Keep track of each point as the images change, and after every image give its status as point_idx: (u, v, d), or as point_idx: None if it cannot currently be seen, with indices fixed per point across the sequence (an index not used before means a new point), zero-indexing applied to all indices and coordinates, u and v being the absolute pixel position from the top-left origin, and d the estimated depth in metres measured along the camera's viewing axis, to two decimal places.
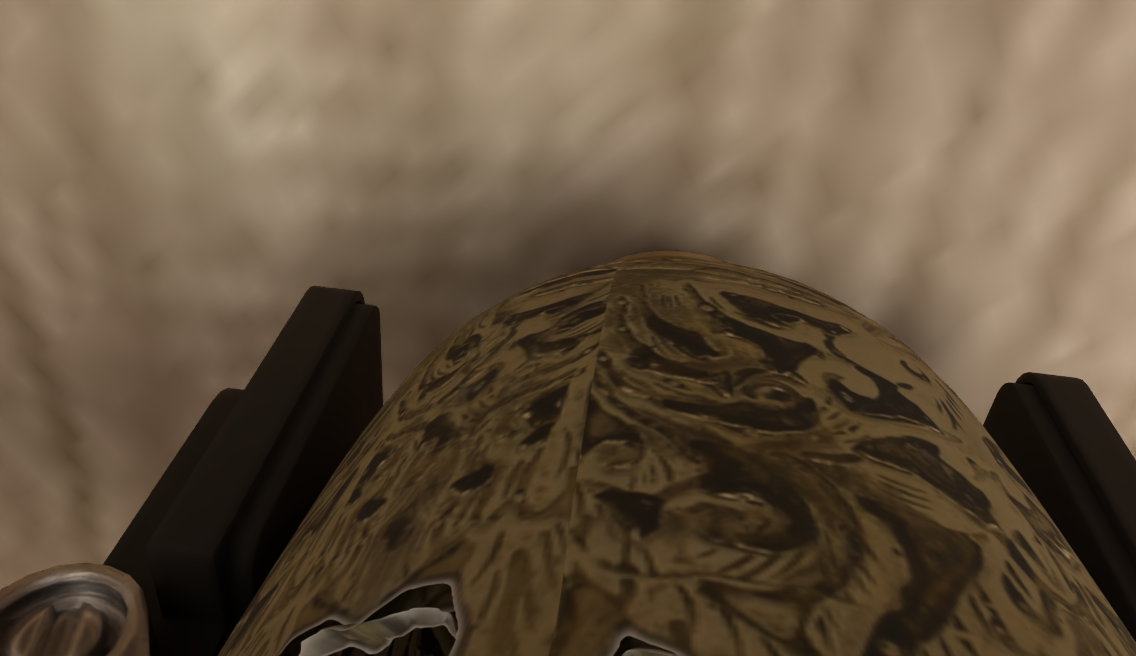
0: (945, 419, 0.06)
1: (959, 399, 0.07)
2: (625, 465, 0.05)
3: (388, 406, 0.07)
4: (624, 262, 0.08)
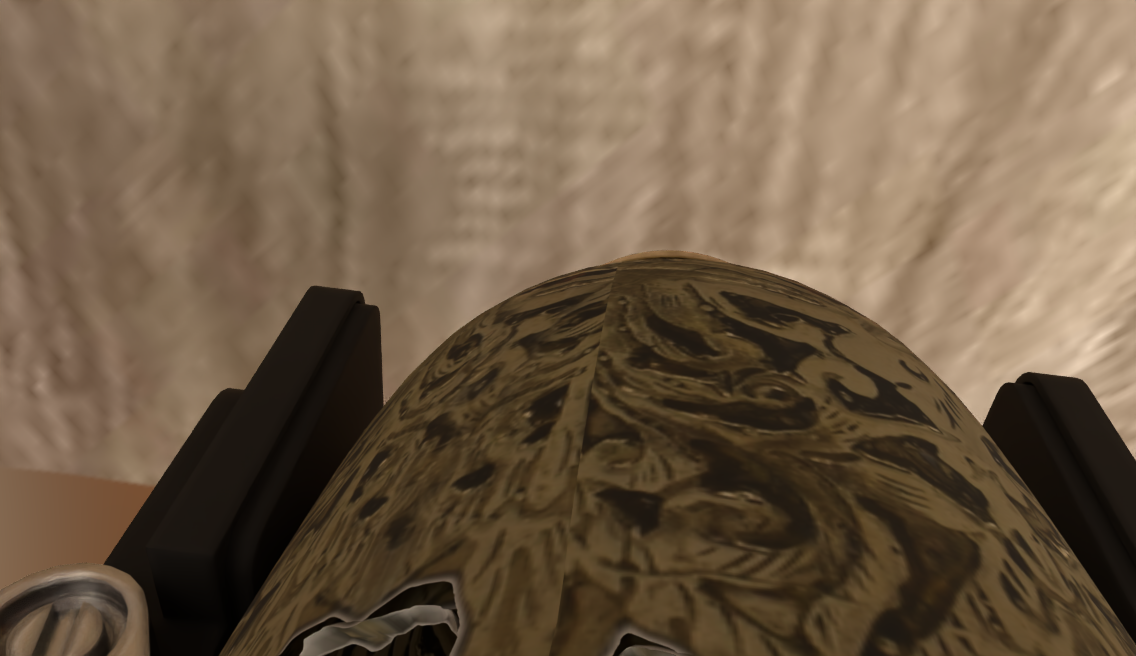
0: (943, 418, 0.06)
1: (958, 399, 0.07)
2: (625, 464, 0.05)
3: (389, 405, 0.07)
4: (624, 262, 0.08)
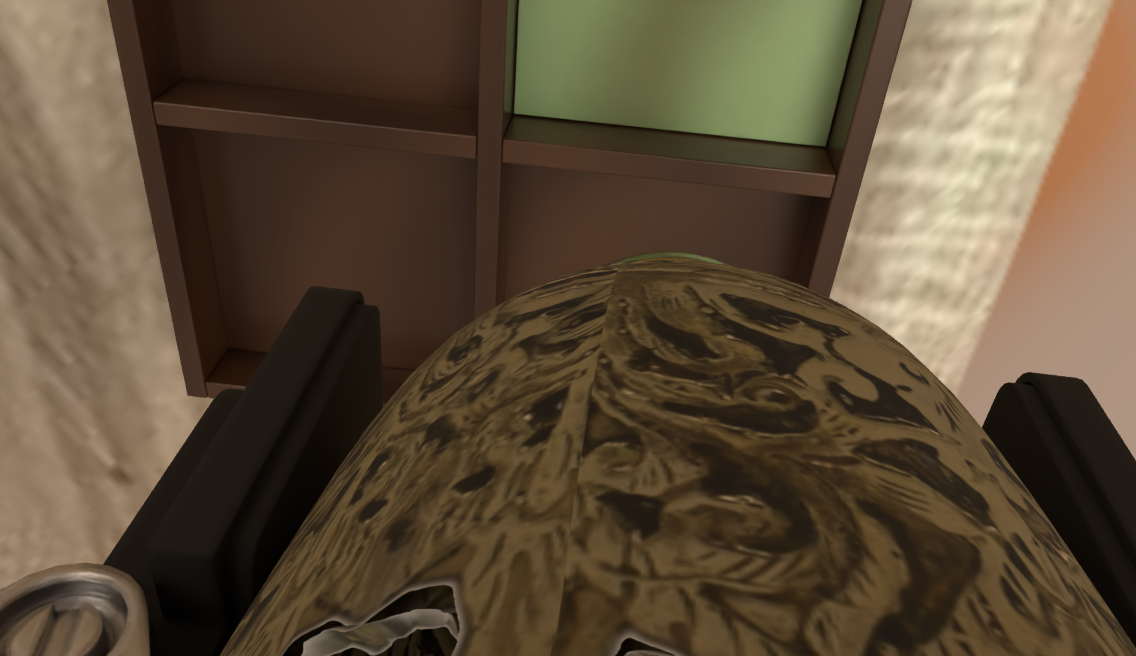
0: (944, 421, 0.06)
1: (958, 401, 0.07)
2: (625, 467, 0.05)
3: (389, 407, 0.07)
4: (624, 264, 0.08)
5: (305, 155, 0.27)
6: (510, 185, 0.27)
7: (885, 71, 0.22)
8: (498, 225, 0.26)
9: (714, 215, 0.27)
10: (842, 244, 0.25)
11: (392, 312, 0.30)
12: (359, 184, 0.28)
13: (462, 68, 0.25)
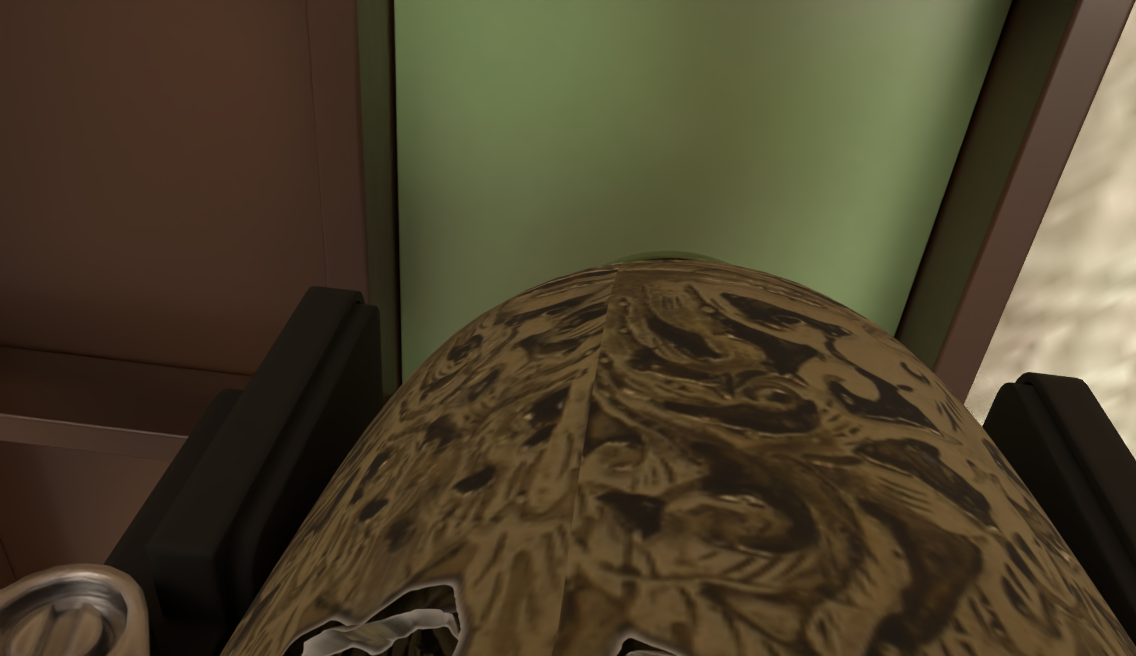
0: (945, 421, 0.06)
1: (959, 401, 0.07)
2: (627, 467, 0.05)
3: (389, 407, 0.07)
4: (625, 263, 0.08)
5: None
6: None
7: None
8: None
9: None
10: None
11: None
12: None
13: None
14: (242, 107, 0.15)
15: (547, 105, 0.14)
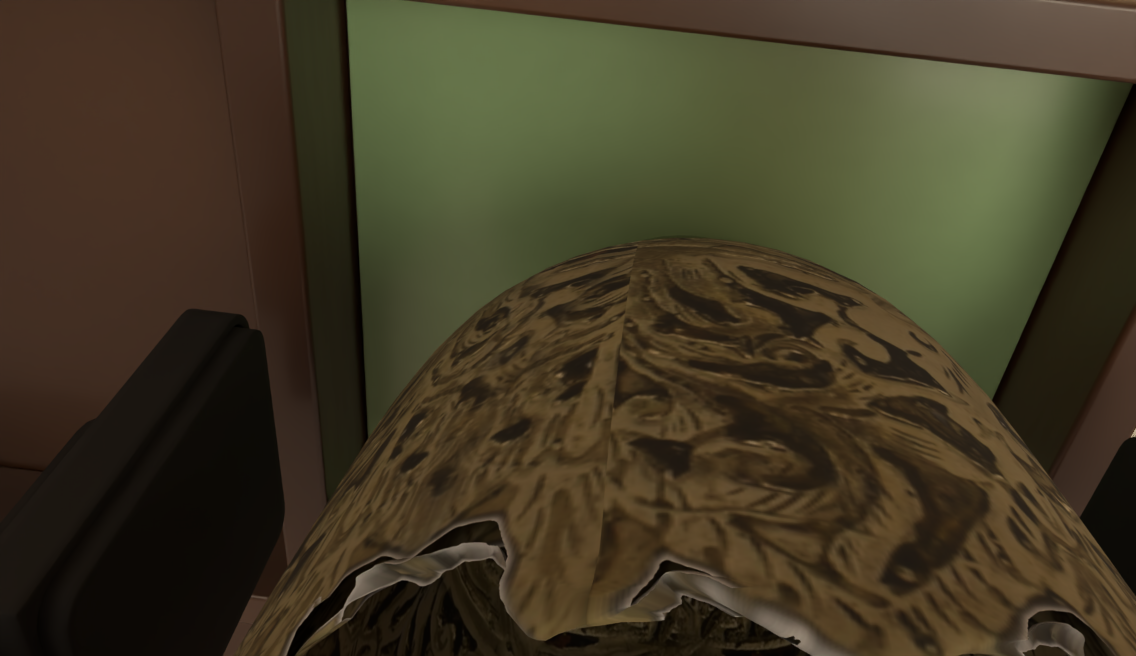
0: (952, 384, 0.07)
1: (964, 370, 0.08)
2: (655, 417, 0.05)
3: (420, 375, 0.08)
4: (643, 241, 0.09)
5: None
6: None
7: None
8: None
9: None
10: None
11: None
12: None
13: None
14: (170, 193, 0.12)
15: (542, 197, 0.11)
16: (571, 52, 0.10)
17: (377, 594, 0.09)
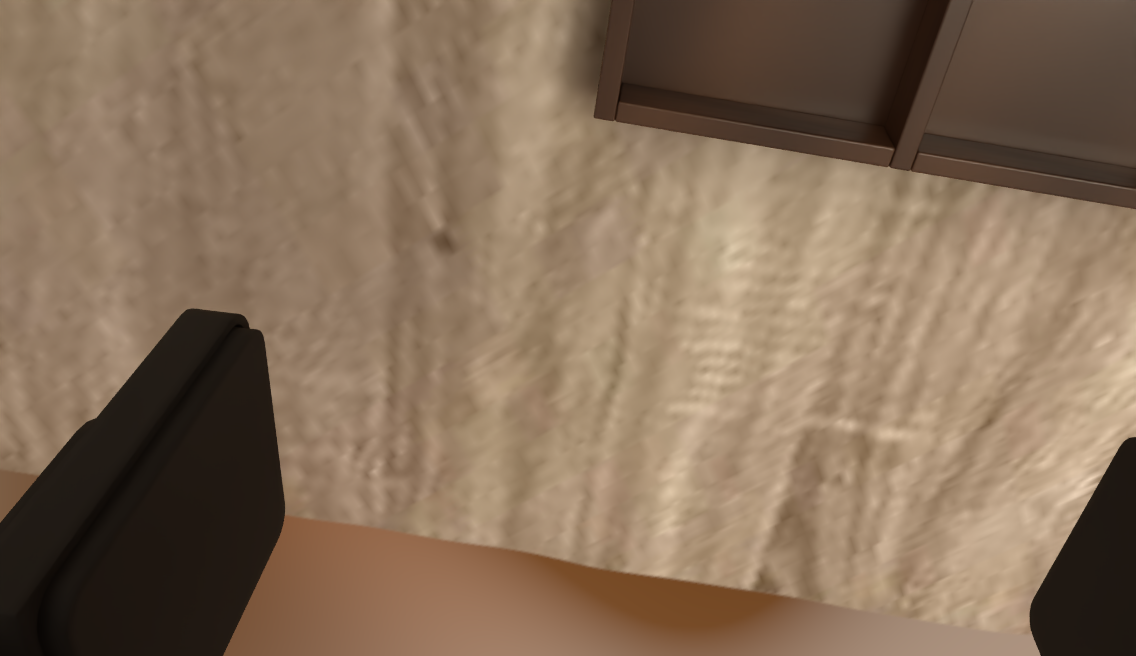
0: None
1: None
2: None
3: None
4: None
5: None
6: None
7: None
8: None
9: None
10: None
11: (813, 42, 0.29)
12: None
13: None
14: None
15: None
16: None
17: None
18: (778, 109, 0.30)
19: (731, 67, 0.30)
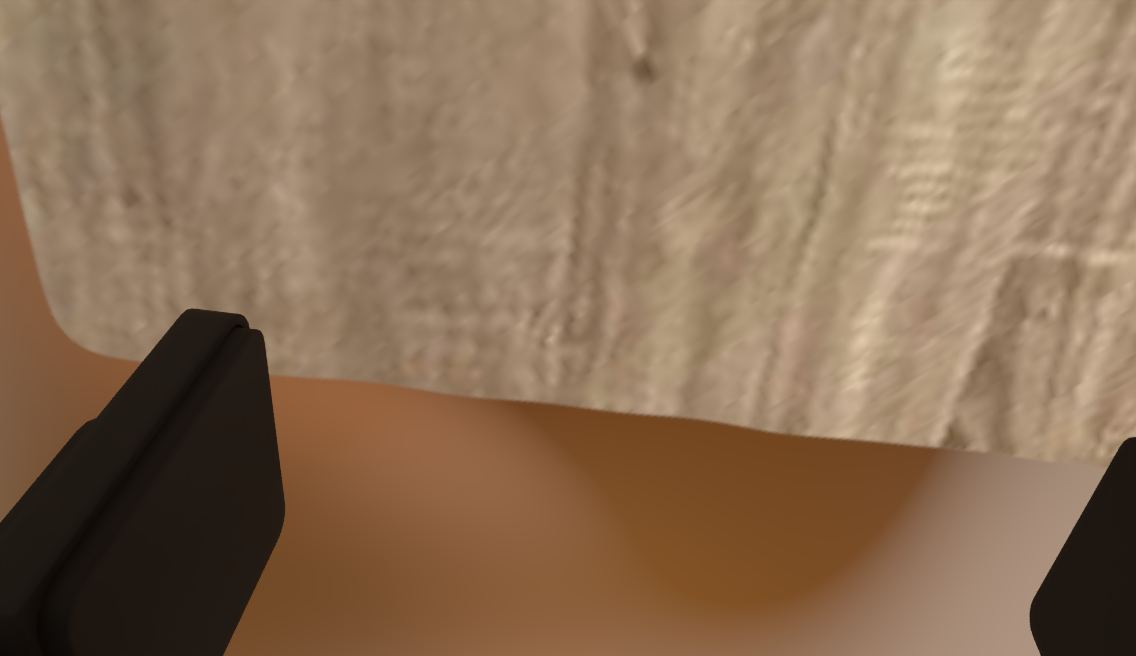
0: None
1: None
2: None
3: None
4: None
5: None
6: None
7: None
8: None
9: None
10: None
11: None
12: None
13: None
14: None
15: None
16: None
17: None
18: None
19: None
